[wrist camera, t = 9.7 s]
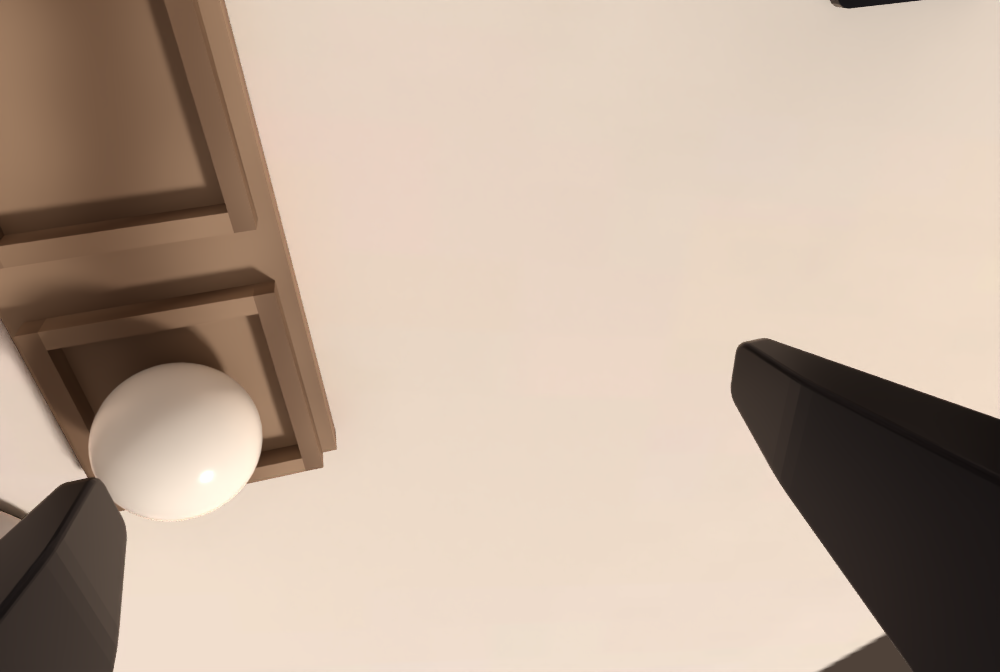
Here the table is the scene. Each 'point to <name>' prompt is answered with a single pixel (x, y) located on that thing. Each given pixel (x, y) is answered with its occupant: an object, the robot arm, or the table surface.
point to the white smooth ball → (175, 441)
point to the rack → (146, 218)
